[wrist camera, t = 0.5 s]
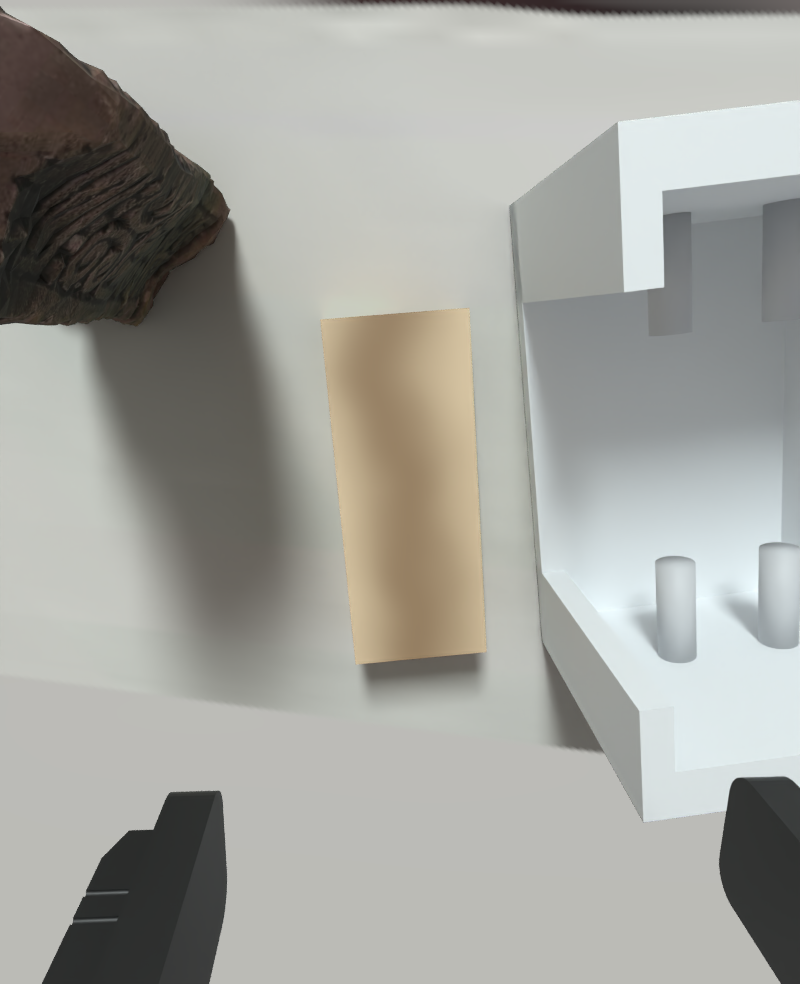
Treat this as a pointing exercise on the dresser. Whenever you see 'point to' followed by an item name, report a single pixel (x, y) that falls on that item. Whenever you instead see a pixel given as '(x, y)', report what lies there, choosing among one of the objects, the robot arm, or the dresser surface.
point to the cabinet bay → (670, 444)
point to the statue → (88, 191)
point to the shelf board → (407, 482)
